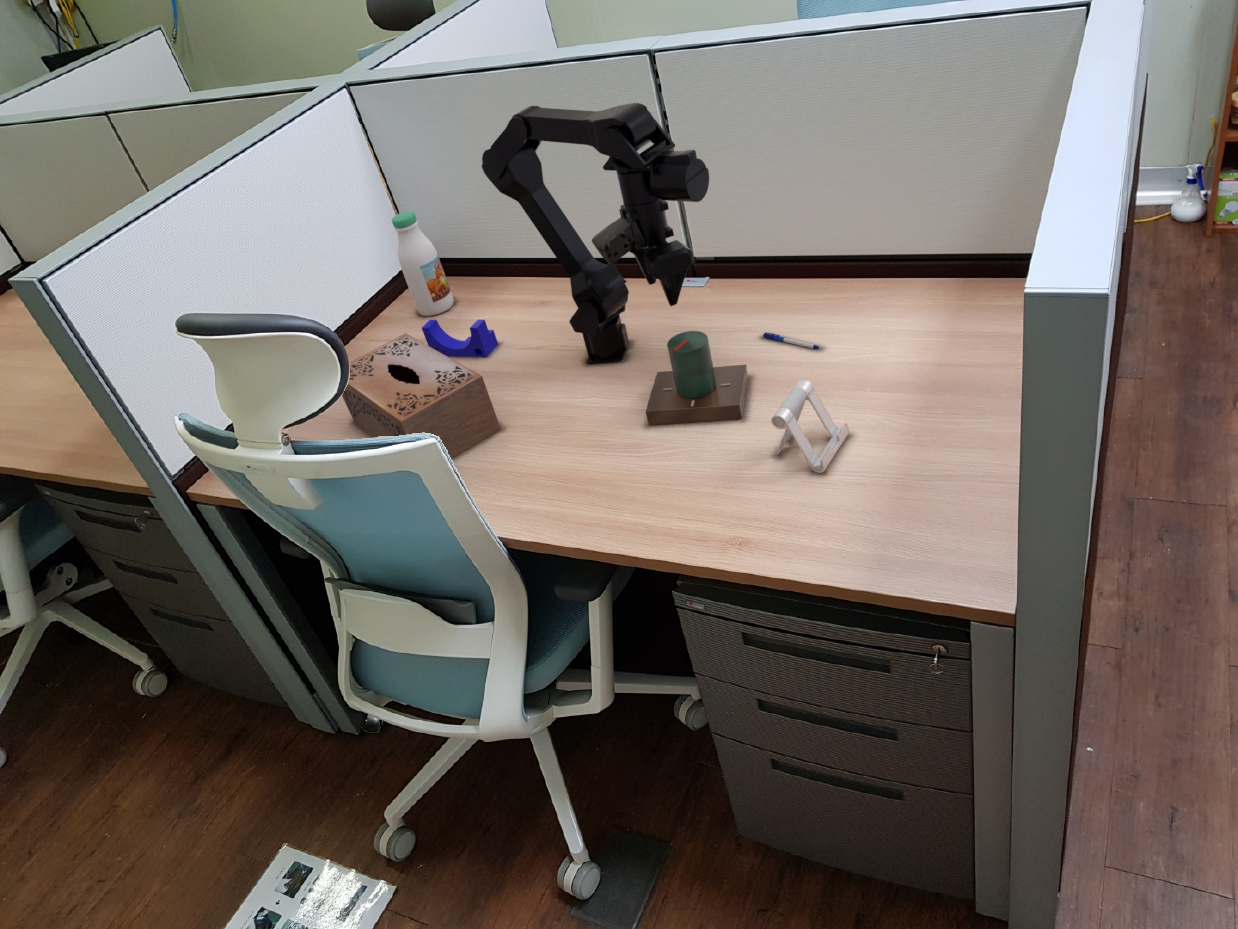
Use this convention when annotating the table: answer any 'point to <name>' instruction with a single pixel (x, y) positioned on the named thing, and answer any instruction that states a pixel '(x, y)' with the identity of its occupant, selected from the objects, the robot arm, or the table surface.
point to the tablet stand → (788, 420)
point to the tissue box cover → (419, 395)
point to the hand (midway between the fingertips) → (662, 293)
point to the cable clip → (471, 347)
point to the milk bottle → (421, 267)
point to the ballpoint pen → (789, 340)
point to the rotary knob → (691, 364)
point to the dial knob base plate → (711, 407)
